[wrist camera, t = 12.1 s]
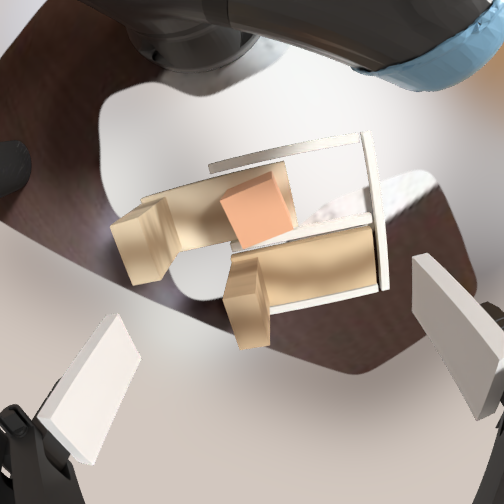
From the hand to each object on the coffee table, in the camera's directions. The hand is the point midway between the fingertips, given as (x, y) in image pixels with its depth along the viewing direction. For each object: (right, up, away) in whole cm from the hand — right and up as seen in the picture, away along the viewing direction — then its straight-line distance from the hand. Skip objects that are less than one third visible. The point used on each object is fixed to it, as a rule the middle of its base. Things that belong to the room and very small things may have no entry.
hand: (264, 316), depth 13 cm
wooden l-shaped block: (+6, +1, +24) cm, 25 cm away
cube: (0, +8, +20) cm, 21 cm away
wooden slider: (-4, +8, +22) cm, 23 cm away
